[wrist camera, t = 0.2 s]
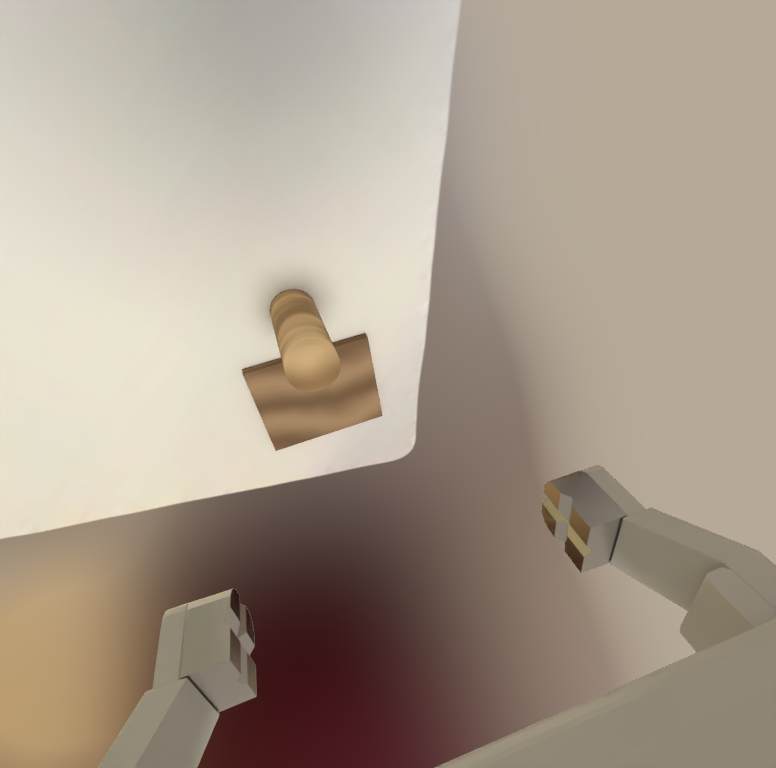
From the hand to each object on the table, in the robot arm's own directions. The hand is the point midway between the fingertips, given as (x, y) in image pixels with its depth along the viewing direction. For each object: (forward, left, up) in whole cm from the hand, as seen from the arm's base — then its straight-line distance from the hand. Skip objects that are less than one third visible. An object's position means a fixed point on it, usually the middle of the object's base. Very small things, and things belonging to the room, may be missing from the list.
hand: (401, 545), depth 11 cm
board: (+25, 0, -39) cm, 46 cm away
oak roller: (+13, 0, -39) cm, 41 cm away
